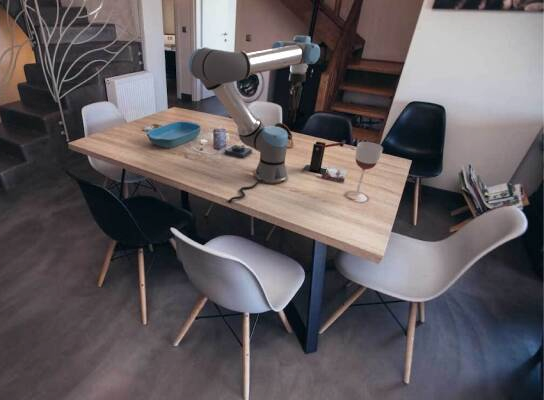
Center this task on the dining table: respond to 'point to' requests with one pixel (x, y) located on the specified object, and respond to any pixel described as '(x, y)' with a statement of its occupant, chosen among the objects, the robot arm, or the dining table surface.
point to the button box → (238, 151)
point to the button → (238, 145)
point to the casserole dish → (174, 134)
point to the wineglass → (366, 161)
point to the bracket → (316, 159)
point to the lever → (334, 144)
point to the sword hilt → (286, 131)
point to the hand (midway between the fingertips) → (291, 121)
